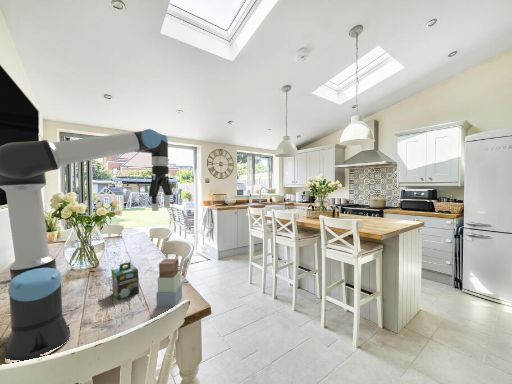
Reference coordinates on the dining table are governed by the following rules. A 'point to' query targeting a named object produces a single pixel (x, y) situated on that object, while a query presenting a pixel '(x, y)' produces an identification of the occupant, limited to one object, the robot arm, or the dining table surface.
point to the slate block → (169, 297)
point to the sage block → (169, 283)
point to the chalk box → (125, 281)
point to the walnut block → (168, 268)
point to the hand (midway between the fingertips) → (161, 209)
